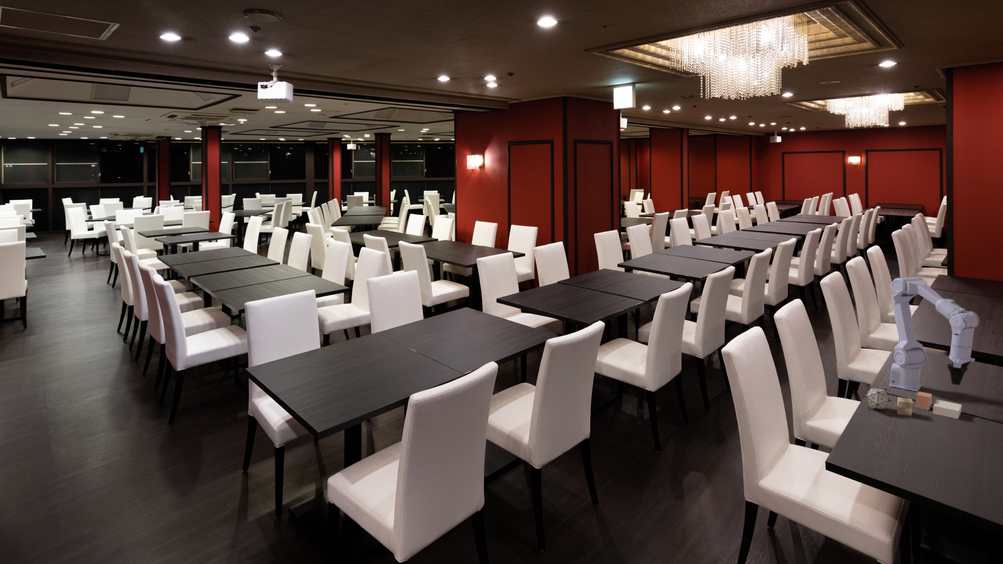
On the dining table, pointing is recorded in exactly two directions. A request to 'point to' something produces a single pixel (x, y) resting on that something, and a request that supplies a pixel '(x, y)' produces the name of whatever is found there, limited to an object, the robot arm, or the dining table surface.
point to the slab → (947, 409)
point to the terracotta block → (923, 400)
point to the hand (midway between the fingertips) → (957, 381)
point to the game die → (877, 398)
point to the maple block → (904, 406)
